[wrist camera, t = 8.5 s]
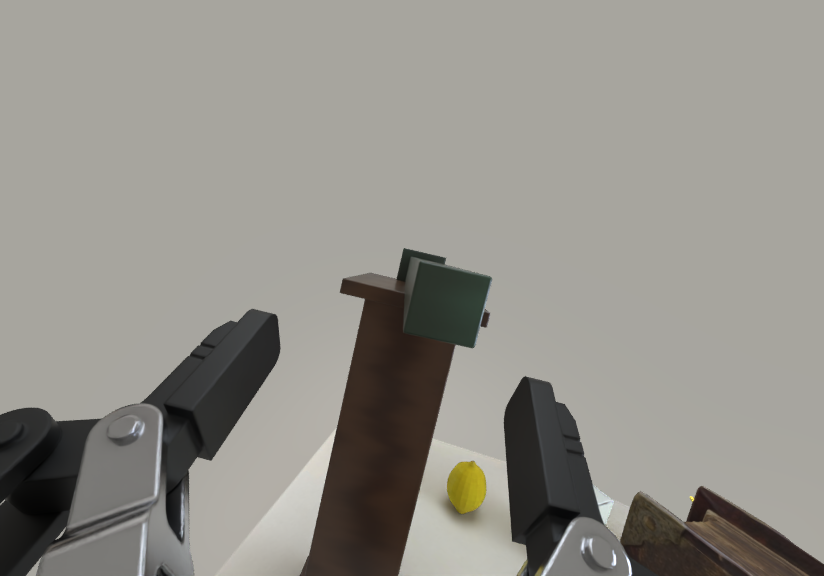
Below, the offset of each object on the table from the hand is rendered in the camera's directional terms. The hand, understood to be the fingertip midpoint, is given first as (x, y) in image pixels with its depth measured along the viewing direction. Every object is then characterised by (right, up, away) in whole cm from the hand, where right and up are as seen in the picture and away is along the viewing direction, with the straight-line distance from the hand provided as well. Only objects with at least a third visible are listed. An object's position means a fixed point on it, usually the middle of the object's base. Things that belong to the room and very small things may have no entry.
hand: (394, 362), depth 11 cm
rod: (+1, +2, +12) cm, 12 cm away
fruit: (+8, -30, +37) cm, 49 cm away
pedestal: (-6, -29, +19) cm, 35 cm away
